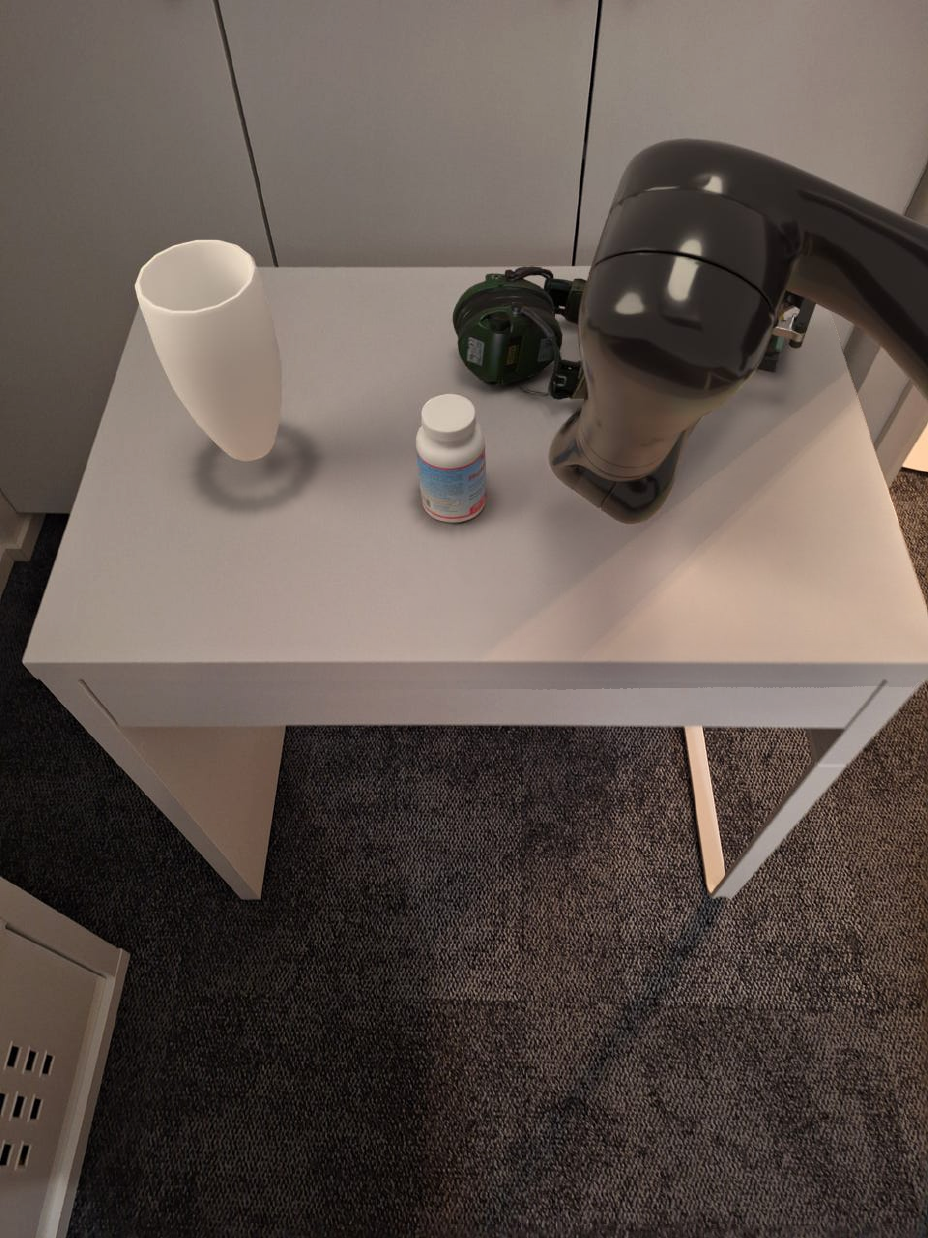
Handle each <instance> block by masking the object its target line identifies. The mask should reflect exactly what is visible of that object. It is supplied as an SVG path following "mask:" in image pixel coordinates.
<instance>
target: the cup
mask: <svg viewBox="0 0 928 1238" xmlns="http://www.w3.org/2000/svg"><path fill="white" fill-rule="evenodd" d="M134 290H135V293H136V297H137V301H138V304H139V307H140V310H141V313H142V316H143V318H144V321H145V324H146V327H147V330H148V333H149V336H150V339H151V341H152V344H153V347H154V351H155V352H156V354H157V357H158V359H159V361H160V364H161V365H162V368H163V370H164V372H165V374H166V377H167V378H168V381H169V383H170V385H171V387H172V389H173V392H174V393H175V395H176V396H177V397H178V399H179V400H180V401H181V403H182V405H183V406H184V407H185V408H186V410H187V412H188V413H189V414H190V415H191V417H192V419H193V420H194V422H195V423H196V424H197V425H198V426H199V428H200V429H202V431H203V432H204V433H205V434H206V435H207V436H208V437H209V438H210V439H211V440H212V441H213V442H214V444H215V445H217V446H218V447H219V448H220V449H221V450H222V451H223V452H224V453H226V454H227V455H228V456H230V458H232V459H234V460H237V461H240V462H252V461H253V462H254V461H256V460H260V459H262V458H263V457H265V456H266V455H268V454H269V453H270V451H272V449H273V448H274V443H275V440H276V438H277V434H278V430H279V425H280V416H281V412H282V411H281V410H282V403H283V371H282V369H283V367H282V366H283V364H282V357H281V353H280V348H279V343H278V342H279V341H278V338H277V333H276V328H275V327H276V326H275V323H274V322H275V321H274V318H273V315H272V312H271V309H270V306H269V305H270V304H269V302H268V299H267V296H266V291H265V288H264V285H263V281H262V279H261V275H260V272H259V269H258V266H257V263H256V261H255V258H254V256H253V255H251V254H250V253H248V252H247V251H246V250H244V249H243V248H242V247H241V246H239V245H238V244H235V243H231V242H228V241H224V240H220V239H194V240H191V241H187V242H182V243H178V244H174V245H172V246H169V247H168V248H166V249H164V250H162V251H159V252H158V253H155V254H154V255H153V256H152V257H151V258H150V259H149V260H148V261H147V262H146V263H145V264H144V265H143V266H142V267H141V268H140V271H139V273H138V275H137V278H136V281H135V284H134Z"/></svg>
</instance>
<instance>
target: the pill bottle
mask: <svg viewBox="0 0 928 1238" xmlns="http://www.w3.org/2000/svg"><path fill="white" fill-rule="evenodd" d="M476 413H477V412H476V407H475V406H474V404H473V403H472V402H471V400H469V398H466V397H465V396H462V395H460V394H455V393H444V394H439V395H436V396H434V397H432V398H430V399H429V400H428V401H427V402H426V403H425V404H424V405H423V407H422V409H421V415H420V416H421V425H420V427H419V429H418V431H417V433H416V437H415V448H416V449H415V450H416V459H417V468H418V479H419V488H420V495H421V504H422V506H423V508H424V510H425V511H426V512H427V514H428V515H430V516H431V517H432V518H433V519H435V520H437V521H440V522H443V523H461V522H465V521H468V520H472V519H473V518H475V517H476V516H477V515H479V514H480V513H481V511H482V510H483V509H484V507H485V505H486V502H487V462H486V460H487V459H486V438H485V433H484V431H483V428H482V427H481V425H480V424H479V423H478V421H477V414H476Z"/></svg>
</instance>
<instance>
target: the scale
mask: <svg viewBox="0 0 928 1238" xmlns="http://www.w3.org/2000/svg"><path fill="white" fill-rule="evenodd" d="M786 320H787V319H785V317H784V316H783V319H782V322H784V321H786ZM784 341H785V338H783V337H779V336H775V335H774V336H773V337H772V338H771V339H770V341H769V344H768V346H767V349H766V351H765V354H764V356H763V358H762V360H761V362H760V364H759V366H758V367H757V369H756V370H761V371H766V372H770V373H775V371H776V368H777V365H778V362H779V358H780V355H781V352H782V348H783V345H784Z"/></svg>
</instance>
